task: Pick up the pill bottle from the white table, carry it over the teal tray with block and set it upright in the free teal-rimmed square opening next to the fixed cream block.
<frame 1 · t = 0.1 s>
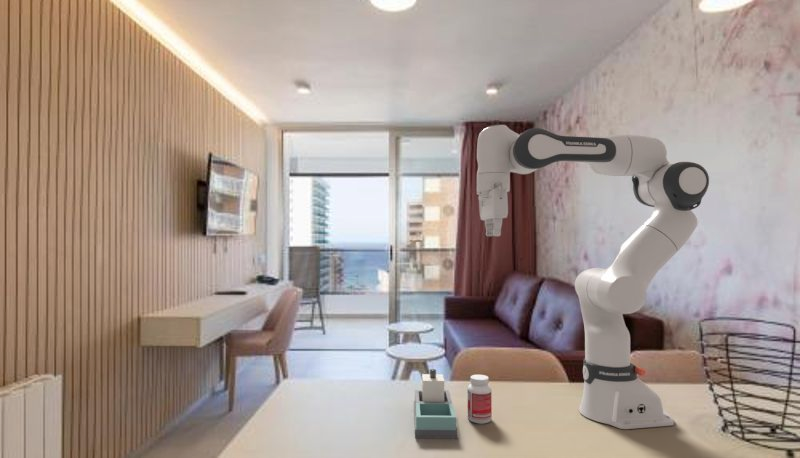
hand: (493, 236, 120), 48 cm above the table, fingers open, 8 cm apart
teal tray with block: (433, 422, 114), on the table
pill bottle: (479, 420, 116), on the table
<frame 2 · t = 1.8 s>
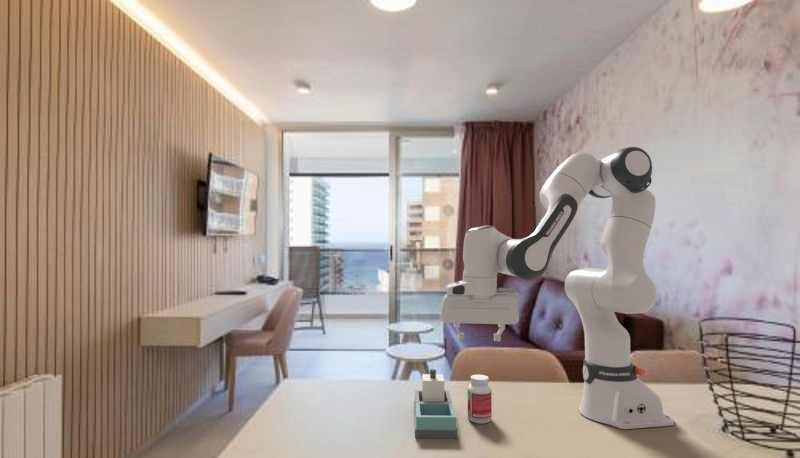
hand: (478, 340, 116), 21 cm above the table, fingers open, 8 cm apart
nothing on the table moved.
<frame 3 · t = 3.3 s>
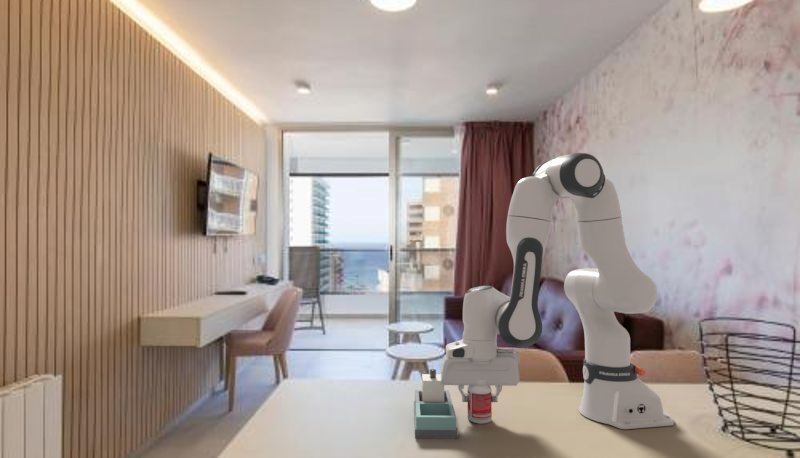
hand: (479, 401, 116), 5 cm above the table, fingers closed on pill bottle, 6 cm apart
pill bottle: (479, 420, 116), on the table, touching gripper
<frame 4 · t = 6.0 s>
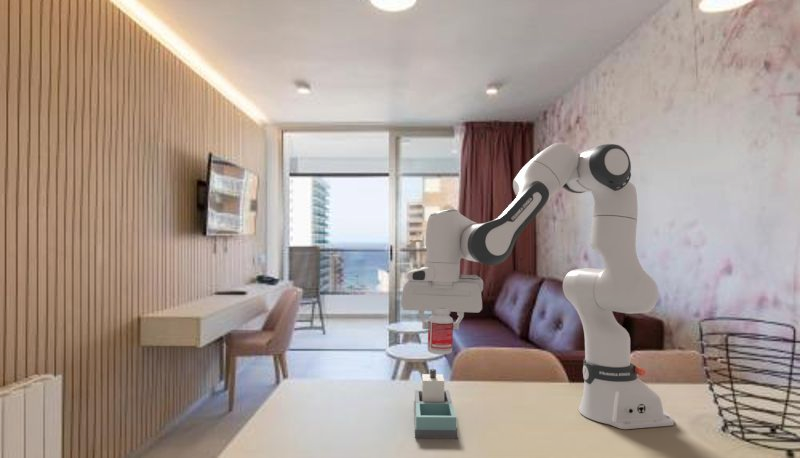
hand: (440, 329, 111), 25 cm above the table, fingers closed on pill bottle, 6 cm apart
pill bottle: (439, 352, 111), point 19 cm above the table, touching gripper
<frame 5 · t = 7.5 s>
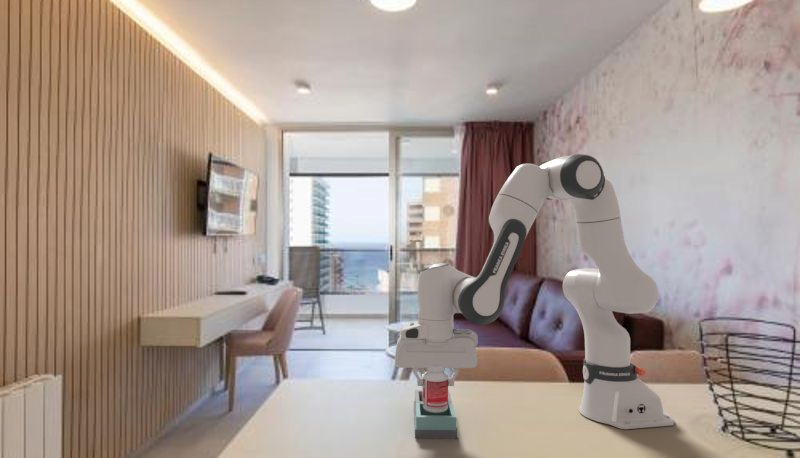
hand: (435, 385, 110), 11 cm above the table, fingers closed on pill bottle, 6 cm apart
pill bottle: (435, 409, 110), point 5 cm above the table, touching gripper
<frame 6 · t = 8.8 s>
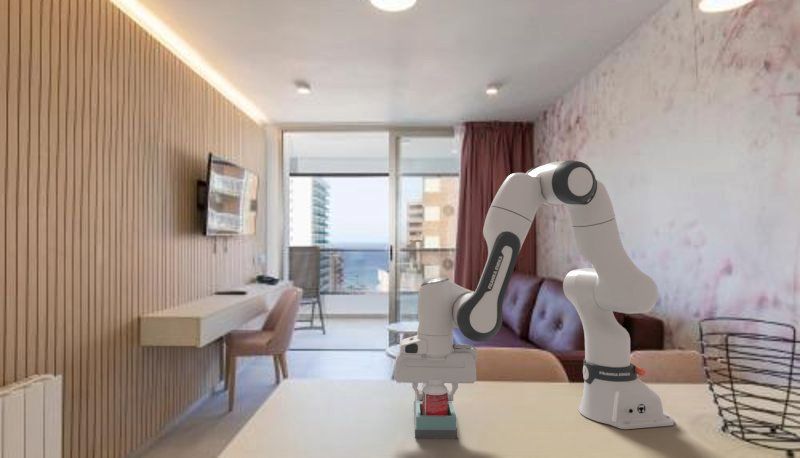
hand: (434, 400, 109), 7 cm above the table, fingers closed on pill bottle, 6 cm apart
pill bottle: (434, 422, 109), point 2 cm above the table, touching gripper, teal tray with block
when the fingers open (7 cm above the table, at t = 8.8 s): pill bottle stays where it is, resting on teal tray with block.
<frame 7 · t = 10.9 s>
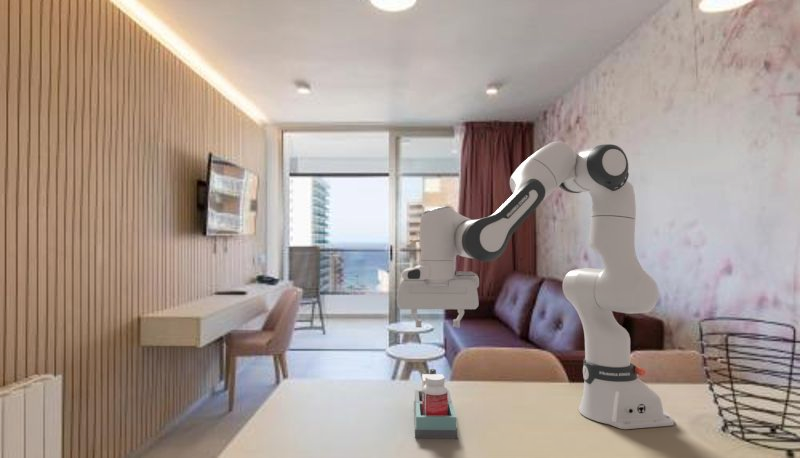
hand: (437, 327, 110), 25 cm above the table, fingers open, 8 cm apart
pill bottle: (434, 422, 109), point 2 cm above the table, touching teal tray with block
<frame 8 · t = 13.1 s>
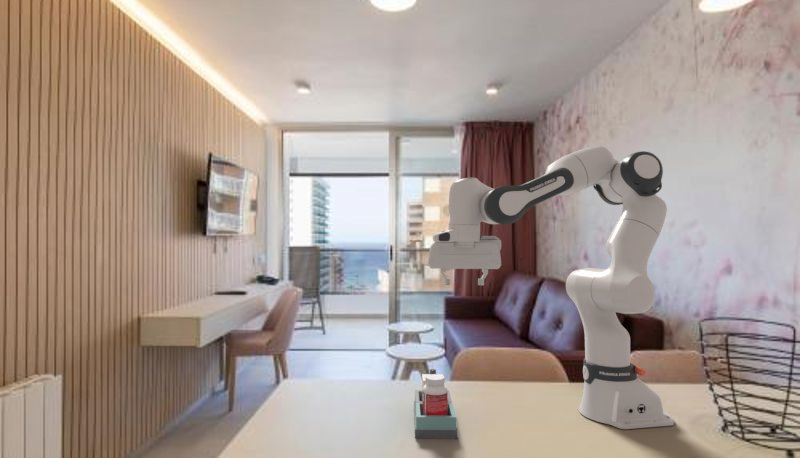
hand: (464, 285, 124), 34 cm above the table, fingers open, 8 cm apart
nothing on the table moved.
at the end: pill bottle 0.1 cm from the target spot on the teal tray with block, point 1.8 cm above the teal tray with block's base; pill bottle tilted 0°; the gripper is holding nothing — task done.
